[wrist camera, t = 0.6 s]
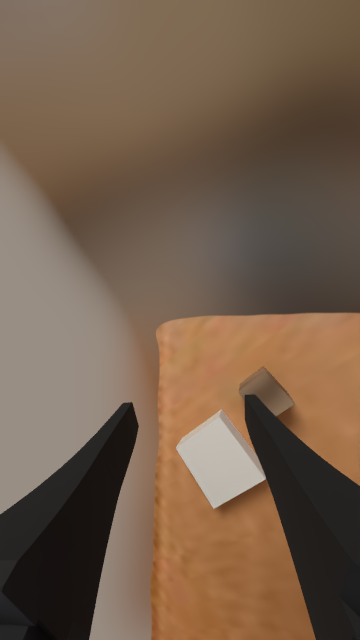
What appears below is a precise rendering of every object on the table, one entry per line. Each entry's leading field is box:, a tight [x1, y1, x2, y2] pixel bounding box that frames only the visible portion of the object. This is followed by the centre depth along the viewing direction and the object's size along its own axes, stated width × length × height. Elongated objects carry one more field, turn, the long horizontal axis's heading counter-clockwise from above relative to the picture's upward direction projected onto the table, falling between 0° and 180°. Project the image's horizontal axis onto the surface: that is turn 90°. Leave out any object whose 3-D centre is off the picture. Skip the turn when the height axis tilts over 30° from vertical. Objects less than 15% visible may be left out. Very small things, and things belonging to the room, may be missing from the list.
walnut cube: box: [239, 366, 295, 416], centre depth 26 cm, size 5×5×5 cm
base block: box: [176, 409, 266, 508], centre depth 29 cm, size 10×10×3 cm
